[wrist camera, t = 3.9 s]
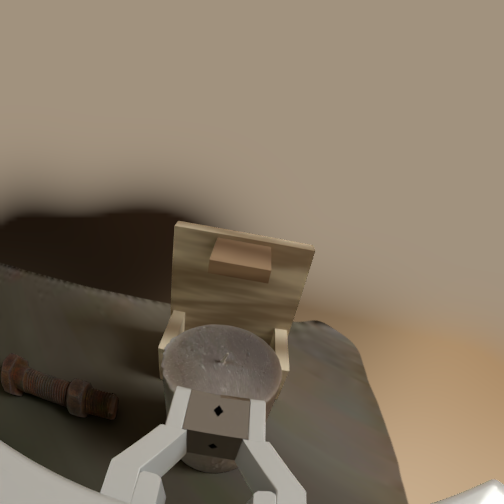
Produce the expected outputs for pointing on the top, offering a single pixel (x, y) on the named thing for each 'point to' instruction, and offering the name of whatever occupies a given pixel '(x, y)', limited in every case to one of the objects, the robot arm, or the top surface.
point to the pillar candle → (220, 373)
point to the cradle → (236, 284)
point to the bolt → (57, 389)
